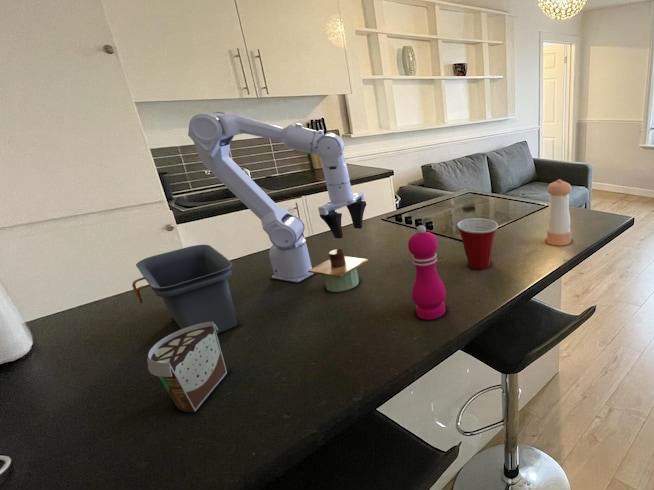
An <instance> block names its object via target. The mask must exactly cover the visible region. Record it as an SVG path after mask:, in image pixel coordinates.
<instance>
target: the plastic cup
mask: <svg viewBox="0 0 654 490" xmlns="http://www.w3.org/2000/svg"><path fill="white" fill-rule="evenodd" d="M456 227H457V228H458V230H459V233H460V237H461V241H462V244H463V249H464V253H465V256H466V261H467V264H468V266H469V267H470V268H471V269H473V270H483V269H486V268H489V267H490V266H491V262H492V261H491V260H492V255H493V247H494V240H495V236H496V231H497V230H498V229H499V223H497V222H496V221H495V220H492V219H489V218H482V217H473V218H472V217H471V218H465V219H462V220H459V221H458V222H457V224H456Z"/></svg>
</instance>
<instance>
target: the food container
mask: <svg viewBox="0 0 654 490" xmlns="http://www.w3.org/2000/svg"><path fill="white" fill-rule="evenodd" d="M216 331H218V328H217V326H216V325H215V324H214V322H206V323H201V324H196V325H193V326H190V327H187V328H184V329H181V328H180V329H179V330H176V331H175V332H172V333H170V334H168V335H167V336H165V337H163V338H162V339H160V340H158V341H157V342H155V344H154V345H153V346H152V347H151V348H150V349H149V351H148V354H147V359H146V362H147V369H148V372H149V373H150V374H151V375H153V376H156V377H158V378H159V379H160V381H161V383H162V384H163V386H164V388H165V390H166V391H167V393H168V394H169V396H170V398H171V401H173V403H174V404H175V406H176V408H177V409H178V410H180V411H182V412H186V413H195V412H197V410H198V409H199V408H200V407H201V405H202V404H203V403H204V402H205V401H206V399H207V398H208V397H209V395H210V394H211V393H212V392H213V391H214V390H215V389H216V387H217V386H218V385H219V383H220V382H221V381H222V380H223V379H224V378H225V376H226V375H227V374H228V370H227V366H226V364H225V360H224V356H223V352H222V347H221V345H220V341H219V337H218V334H217V333H216Z"/></svg>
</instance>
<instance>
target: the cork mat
mask: <svg viewBox="0 0 654 490" xmlns="http://www.w3.org/2000/svg"><path fill="white" fill-rule="evenodd" d="M328 256H329V257H328V259H327V260H325V261H323V262H322V263H319V264H318V265H316V266H314V267H312V269H310V270H308V272H309V273H314V274H317V275H321V276H323V275H328V276H334V277H340V278H341V277H342V276H344V275H346V274H347V273H349V272H351V271H352V270H354V269H356V268H357V269H358V268H359V267H361V266H363V265H364V264H366V263H367V262H369V259H367V258H362V257H361V258H360V257H354V256H353V257H352V256H345V253H344V250H343V249H341V248H339V249H338V248H337V249H333V250H330V251H329V252H328Z"/></svg>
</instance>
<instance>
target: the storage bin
mask: <svg viewBox="0 0 654 490" xmlns="http://www.w3.org/2000/svg"><path fill="white" fill-rule="evenodd" d="M135 266H136V268H137V269H138V270H139V272H140V274H141V276H142V277H140V278H137V279H135V280H134V281H132V285H131V286H132V289H133V291H134V294H135V295H134V296H135V297H136V300H137V301H138V303H139V304H142V303H143V299H142V295H141V293H140V290H142V289H145V288H151V290H152V291H153V292H154V293H155V295H156V296H157V297H160V298H162V300H163V303H164V304H165V306H166V308H167V310H168V312H169V314H170V316H171V317H172V318H173V320H174V321H175V322H176V324H177V325H178V327H179V328H180V330H181V329H184V328H187V327H190V326H193V325H196V324H201V323H206V322H214V324H215V325H216V326H217V328H218V331H216V333H217V335H218V334H221V333H223V332H225V331H228V330H231V329H233V328H234V327H236V326H237V325H238V319H237V315H236V310H235V306H234V302H233V297H232V293H231V290H230V285H229V281H228V279H229V278H231V277H232V275H233V271H232V269H231V267H232V266H233V263H232V262H231V260H229V259H228V258H227V257H225V256H224V255H223V254H222V253H220V252H219V251H218V250H217V249H215V248H214V247H213V246H211V245H209V244H196V245H190V246H186V247H182V248H179V249H175V250H170V251H167V252H163V253H160V254H155V255H152V256H148V257H146V258H143V259H141V260H139V261H137V262H136V263H135ZM143 280H145V281H146V282H147V283H148V284H146V285H141V286H139V287H137V286H136V285H137V282H140V281H143Z"/></svg>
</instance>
